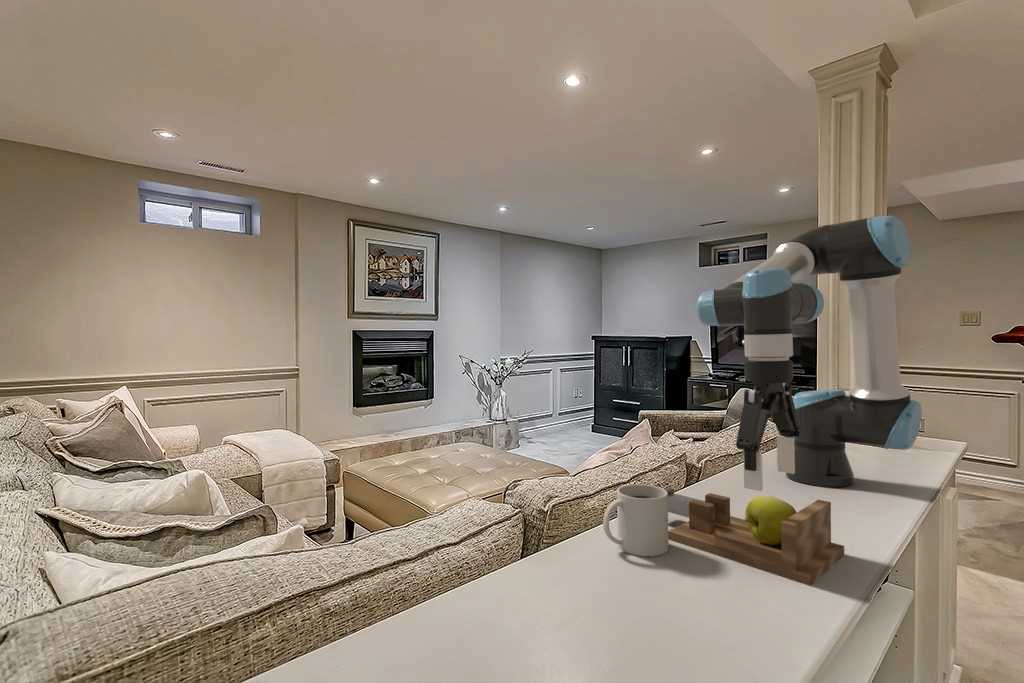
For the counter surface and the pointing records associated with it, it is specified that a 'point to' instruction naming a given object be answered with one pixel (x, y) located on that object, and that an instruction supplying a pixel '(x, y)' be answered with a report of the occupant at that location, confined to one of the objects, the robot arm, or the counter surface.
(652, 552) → the mug
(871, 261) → the robot arm
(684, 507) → the shaft
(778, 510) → the apple
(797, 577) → the cradle
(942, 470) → the counter surface
